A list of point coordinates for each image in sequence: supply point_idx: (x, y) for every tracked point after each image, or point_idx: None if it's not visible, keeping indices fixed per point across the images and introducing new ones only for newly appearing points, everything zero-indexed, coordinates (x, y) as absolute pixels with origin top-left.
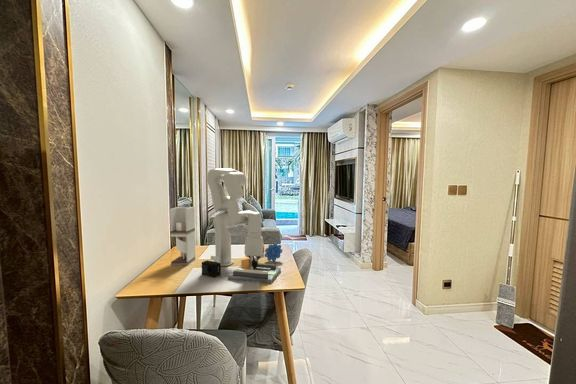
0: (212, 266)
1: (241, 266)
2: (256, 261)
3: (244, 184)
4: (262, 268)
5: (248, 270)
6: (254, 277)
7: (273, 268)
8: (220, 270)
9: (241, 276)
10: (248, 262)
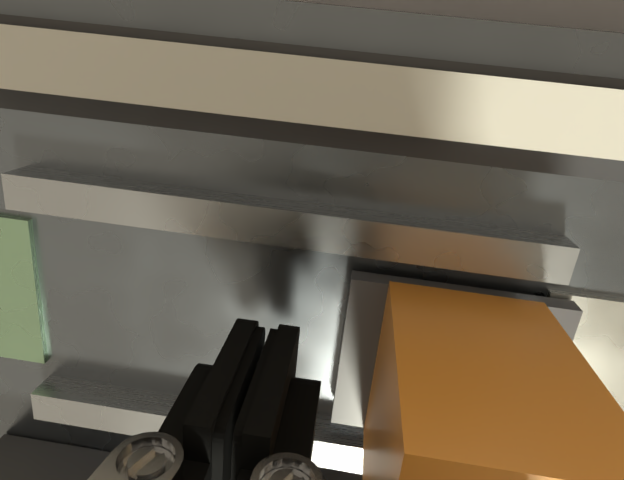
0: None
1: (577, 348)
2: (160, 446)
3: None
4: (165, 413)
5: (308, 57)
6: (183, 18)
7: (21, 445)
8: None
9: (479, 36)
10: (395, 409)
